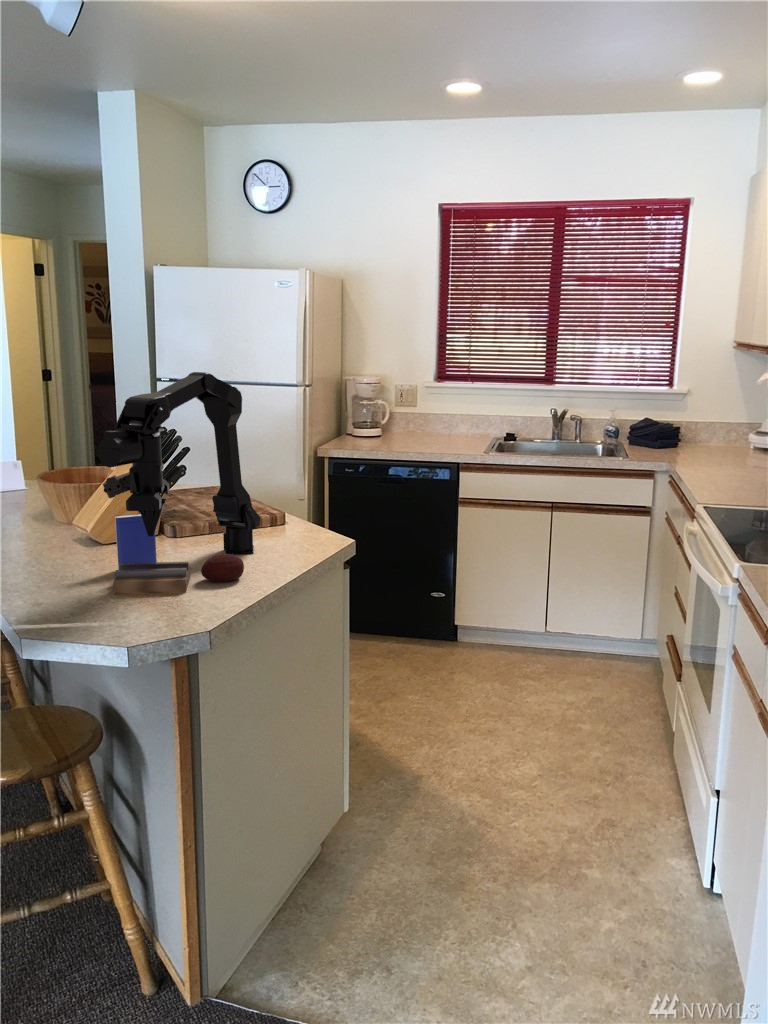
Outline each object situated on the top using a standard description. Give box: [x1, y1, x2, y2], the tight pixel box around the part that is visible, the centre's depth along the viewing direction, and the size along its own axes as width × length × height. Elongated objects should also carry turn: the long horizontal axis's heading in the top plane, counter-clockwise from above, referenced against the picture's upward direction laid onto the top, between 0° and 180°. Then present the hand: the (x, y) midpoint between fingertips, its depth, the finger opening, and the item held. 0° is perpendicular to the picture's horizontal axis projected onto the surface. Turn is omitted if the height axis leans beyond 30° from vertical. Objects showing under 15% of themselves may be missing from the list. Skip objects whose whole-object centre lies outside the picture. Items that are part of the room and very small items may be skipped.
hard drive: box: [114, 514, 158, 570], centre depth 175 cm, size 2×8×12 cm, turn 117°
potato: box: [200, 553, 245, 583], centre depth 169 cm, size 8×9×6 cm
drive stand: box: [113, 561, 191, 596], centre depth 164 cm, size 14×10×4 cm
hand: (151, 535), depth 162 cm, fingers closed
